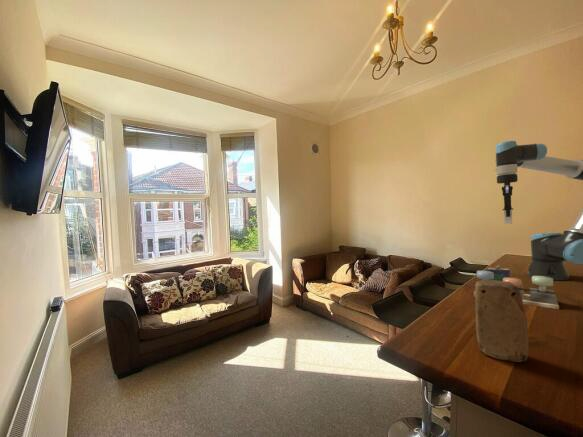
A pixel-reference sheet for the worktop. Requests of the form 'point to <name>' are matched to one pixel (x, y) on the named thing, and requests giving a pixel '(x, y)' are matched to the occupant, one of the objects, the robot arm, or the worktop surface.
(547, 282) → the sage button
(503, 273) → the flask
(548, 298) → the button board
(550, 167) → the robot arm
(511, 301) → the block
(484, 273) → the slate button
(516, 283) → the terracotta button
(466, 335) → the worktop surface
